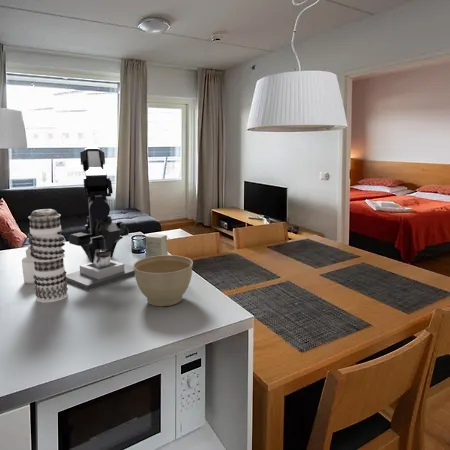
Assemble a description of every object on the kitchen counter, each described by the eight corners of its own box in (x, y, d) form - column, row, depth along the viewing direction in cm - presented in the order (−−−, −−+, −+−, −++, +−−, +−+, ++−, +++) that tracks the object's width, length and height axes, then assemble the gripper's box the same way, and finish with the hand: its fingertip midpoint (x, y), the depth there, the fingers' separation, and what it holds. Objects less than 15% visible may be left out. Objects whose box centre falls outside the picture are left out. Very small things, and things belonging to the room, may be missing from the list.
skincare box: (168, 268, 132) (167, 234, 130) (162, 272, 128) (161, 237, 126) (152, 266, 134) (151, 233, 132) (146, 270, 130) (144, 236, 128)
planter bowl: (172, 285, 117) (171, 251, 115) (204, 301, 105) (204, 264, 103) (124, 298, 107) (122, 261, 104) (154, 318, 95) (153, 277, 92)
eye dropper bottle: (29, 286, 115) (25, 248, 113) (22, 281, 119) (18, 245, 116) (44, 282, 118) (40, 245, 116) (37, 278, 122) (33, 242, 120)
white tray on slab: (114, 264, 136) (114, 254, 135) (140, 272, 128) (140, 261, 127) (62, 280, 121) (61, 268, 120) (88, 290, 112) (87, 277, 111)
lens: (104, 267, 127) (104, 248, 126) (113, 271, 124) (113, 251, 123) (91, 270, 123) (92, 250, 122) (100, 275, 121) (100, 254, 119)
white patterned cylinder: (56, 288, 114) (48, 206, 108) (76, 294, 109) (69, 209, 104) (27, 298, 106) (17, 211, 101) (48, 305, 101) (39, 214, 96)
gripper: (87, 221, 108) (91, 273, 111) (138, 212, 122) (140, 258, 126) (66, 216, 114) (70, 265, 118) (116, 208, 129) (119, 252, 132)
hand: (101, 260), depth 123 cm, fingers open, 7 cm apart
